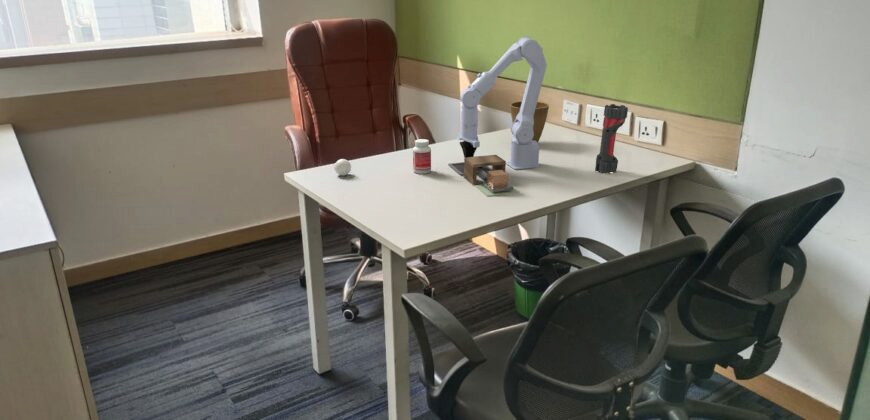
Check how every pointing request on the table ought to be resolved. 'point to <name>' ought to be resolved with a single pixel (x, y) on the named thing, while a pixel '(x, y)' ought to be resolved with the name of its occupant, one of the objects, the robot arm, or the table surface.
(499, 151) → the table surface
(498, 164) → the tunnel
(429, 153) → the pill bottle
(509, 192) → the pad
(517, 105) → the plant pot
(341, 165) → the white ball
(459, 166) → the grey flat square panel
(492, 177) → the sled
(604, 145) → the flashlight
